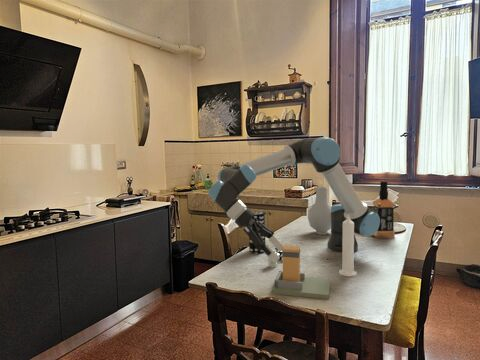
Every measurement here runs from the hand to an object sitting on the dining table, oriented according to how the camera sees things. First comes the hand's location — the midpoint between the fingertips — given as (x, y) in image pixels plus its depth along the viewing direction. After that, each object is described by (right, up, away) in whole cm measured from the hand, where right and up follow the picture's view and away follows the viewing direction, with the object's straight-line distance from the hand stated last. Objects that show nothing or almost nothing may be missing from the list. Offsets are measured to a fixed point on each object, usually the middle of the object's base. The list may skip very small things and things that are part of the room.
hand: (279, 254), depth 131 cm
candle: (+30, -11, +13) cm, 34 cm away
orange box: (+5, -11, +1) cm, 12 cm away
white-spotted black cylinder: (-6, -8, +46) cm, 47 cm away
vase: (+34, -4, +79) cm, 86 cm away
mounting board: (+8, -13, 0) cm, 15 cm away
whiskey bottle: (+68, -4, +69) cm, 97 cm away
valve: (+2, -10, +28) cm, 30 cm away
